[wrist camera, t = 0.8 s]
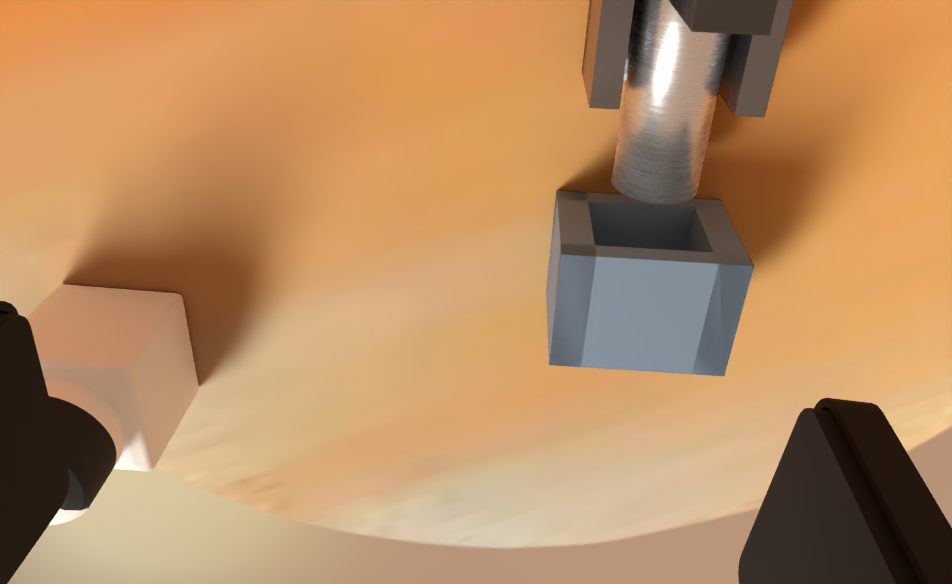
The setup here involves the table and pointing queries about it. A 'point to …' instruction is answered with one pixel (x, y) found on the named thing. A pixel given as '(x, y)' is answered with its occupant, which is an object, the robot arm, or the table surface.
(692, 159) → the sliding bolt
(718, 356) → the socket block
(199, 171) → the table surface
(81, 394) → the medicine bottle
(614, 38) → the sleeve
